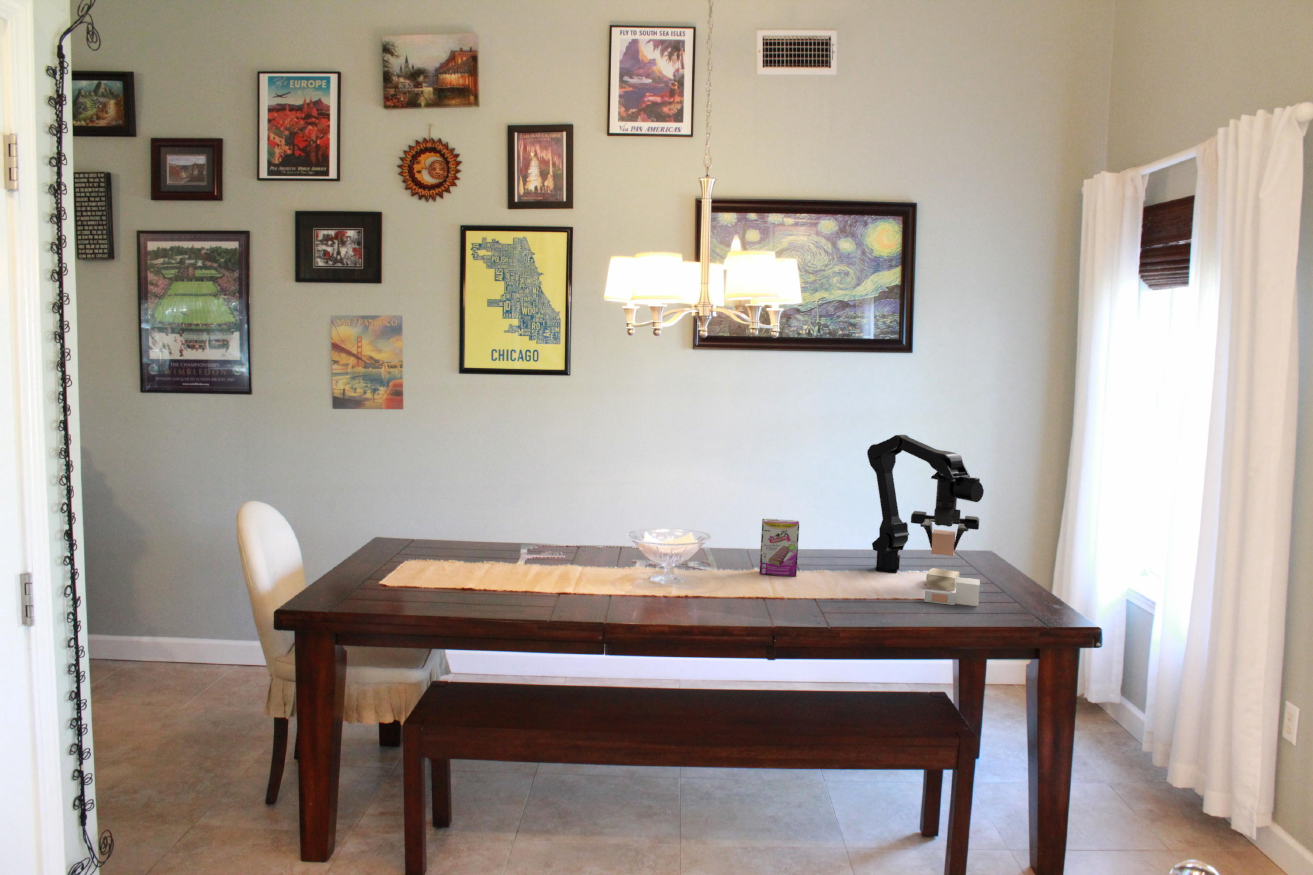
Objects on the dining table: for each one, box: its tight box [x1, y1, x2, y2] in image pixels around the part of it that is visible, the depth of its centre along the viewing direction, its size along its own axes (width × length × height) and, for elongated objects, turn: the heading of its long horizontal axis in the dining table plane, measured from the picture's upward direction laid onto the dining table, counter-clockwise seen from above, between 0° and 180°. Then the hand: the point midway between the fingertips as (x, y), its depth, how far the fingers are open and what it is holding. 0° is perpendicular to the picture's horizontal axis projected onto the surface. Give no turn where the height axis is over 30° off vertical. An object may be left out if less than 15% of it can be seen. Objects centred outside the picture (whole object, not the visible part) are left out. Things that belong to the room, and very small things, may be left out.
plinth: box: [923, 588, 956, 606], centre depth 247 cm, size 8×2×3 cm, turn 70°
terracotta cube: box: [930, 528, 956, 557], centre depth 263 cm, size 6×6×6 cm
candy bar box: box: [759, 518, 800, 577], centre depth 272 cm, size 11×5×16 cm, turn 84°
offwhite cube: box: [955, 576, 981, 607], centre depth 249 cm, size 6×6×6 cm
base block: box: [925, 567, 960, 591], centre depth 265 cm, size 8×8×4 cm
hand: (943, 549), depth 264 cm, fingers closed on terracotta cube, 6 cm apart
